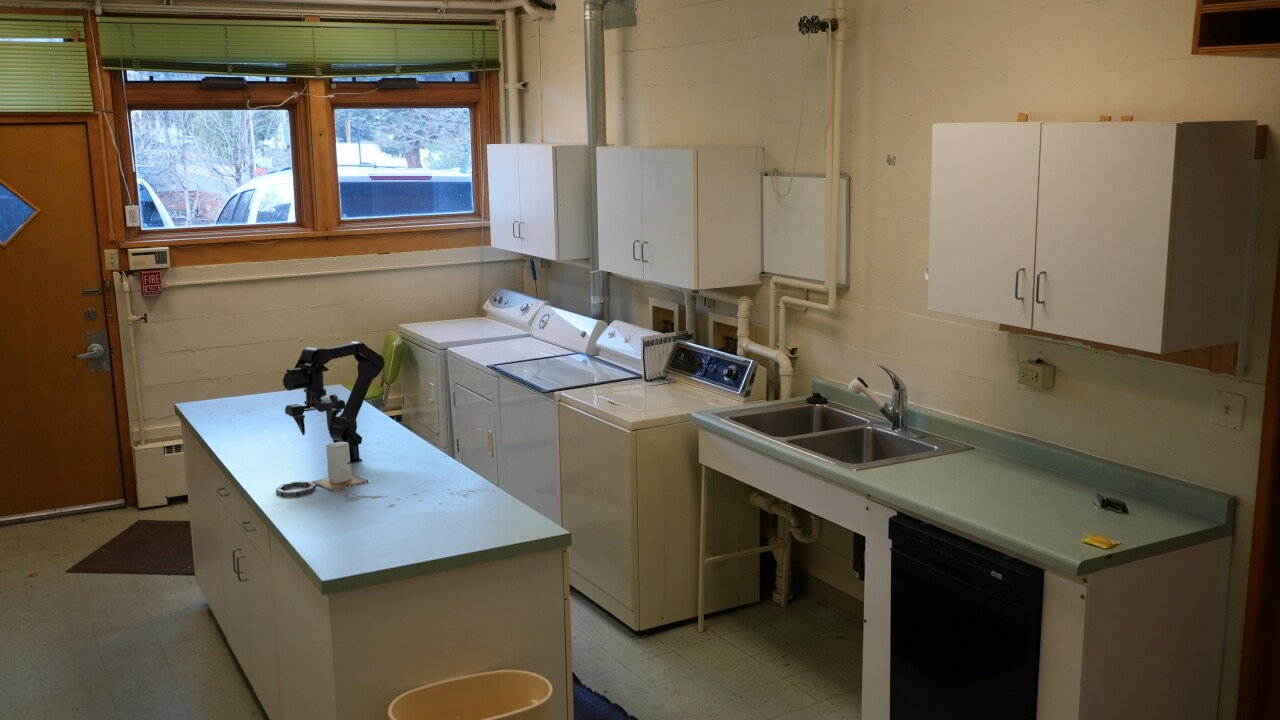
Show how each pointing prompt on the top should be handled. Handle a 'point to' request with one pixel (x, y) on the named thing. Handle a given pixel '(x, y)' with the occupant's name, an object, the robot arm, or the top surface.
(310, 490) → the grey octagonal ring
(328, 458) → the skincare box
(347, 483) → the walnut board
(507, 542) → the top surface
